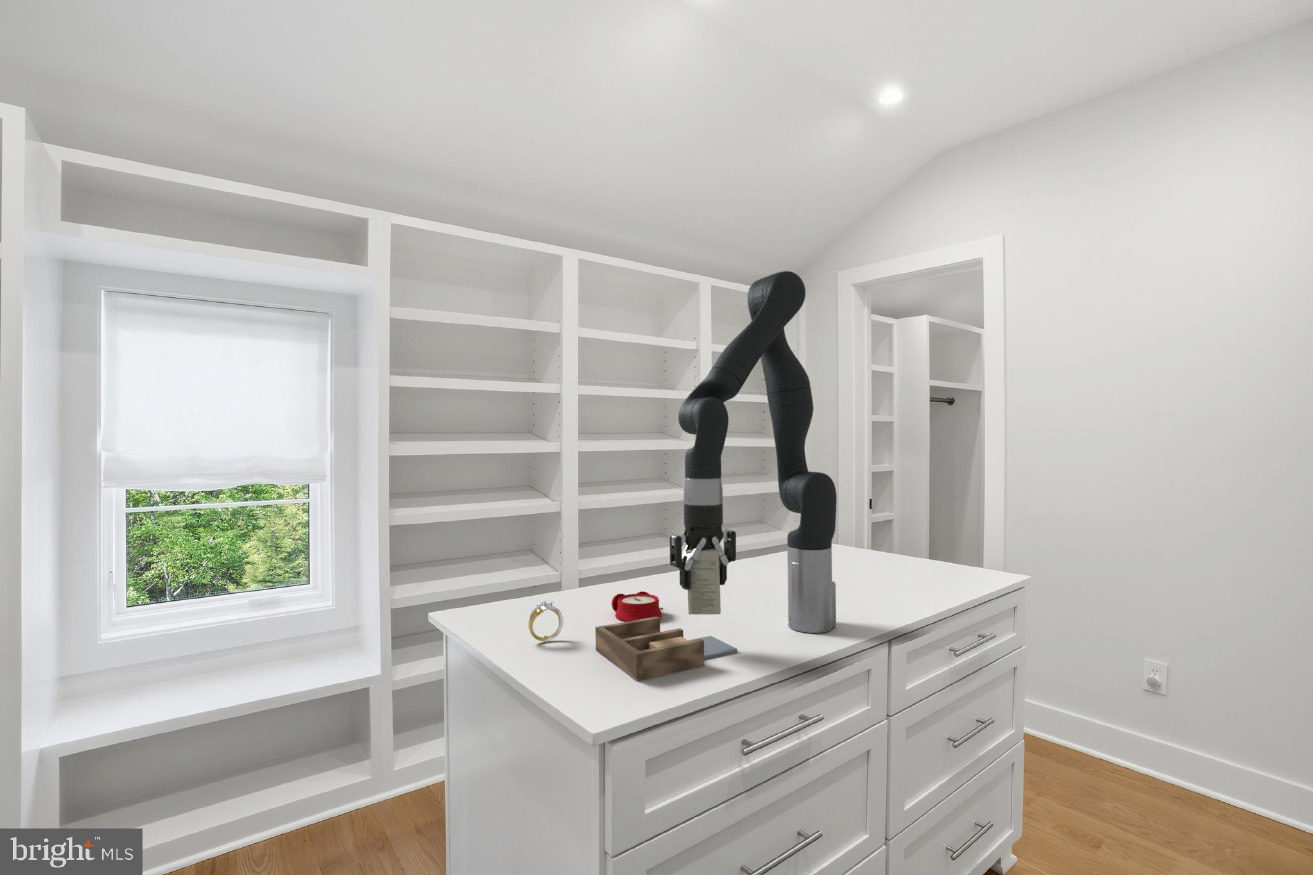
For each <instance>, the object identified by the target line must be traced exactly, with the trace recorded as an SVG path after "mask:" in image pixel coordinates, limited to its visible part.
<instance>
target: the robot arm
mask: <svg viewBox="0 0 1313 875" xmlns="http://www.w3.org/2000/svg"><path fill="white" fill-rule="evenodd" d="M805 301H806V287H805V283H804V282H803V279H802V278H801V277H800V275H798V274H797V273H796V272H794V271H791V270H790V271H789V270H785V271H784V270H783V271H779V272H775V273H773V274H770V275H767V276H764V277H761V278H760V279H757V280H756V281H754V282H753V283H752V284H750V286H749V289H748V292H747V308H748V312H749V316H750V320H751V321H750V322H749V324H747V326H746V327H744V329H742V331H741V332H740V333H739V334H738V335H737V336H735V337H734V338H733V340H731V342H729V344H728V345H727V346H726V347H725V348H724V349H723V351H722V352H721V353H720V354H719V356H718V357H717V360H716V361H715V363H714V364H713V365H712V367H711V369H710V371H709V372H708V374H707V376H705V378H704V379H703V380H702V381H701V382H700V383H699V384H698V385H696V387H695V388H694V389H693V390H691V392H690V393H689V394H688V396H687V397H686V398H685V399H684V401H683V402H682V404H681V406H680V408H679V410H678V415H677V416H678V419H677V420H678V424H679V426H680V428H681V429H682V431H684V432H685V433H687V434H690V435H695V439H694V445H693V446H692V447H691V448H690V447H689V449H687V450H686V452H685V455H684V483H683V484H684V485H683V524H684V525H683V526H684V532H683V534H673V533H672V534H670V535H669V564H670V566H672V567H675V568H678V570H679V585H680V587H681V588H682V589H683V590H686V591H688V590H690V589H691V570H689V569H690V567H691V565H692V563H693V561H695V560H696V559H697V557H698V555H699V553H700V551H701V550H708V549H719V571H720V586H724V585H725V584H726V582H727V579H728V576H727V575H728V565H729V564H730V563H731V562H735V561H736V559H737V532H736V531H735V530H731V529H724V530H723V529H722V526H723V524H724V504H723V503H724V498H723V497H724V491H723V489H724V488H723V484H722V483H723V482H722V481H723V480H722V455H723V451H724V446H725V442H726V437H727V434H728V429H729V420H730V419H729V413H728V410H727V409H728V408H727V407H726V404H724V403H726V402H727V401H730V400H732V399H733V398H735V397H737V395H738V394H739V392H740V391H741V389H742V388H743V386H744V384H745V383H746V381H747V380H748V378H749V376H750V374H751V373H752V371H753V369H754V368H755V367H756V364H757V363H758V361H759V360H760V362H761V365H762V372H763V375H764V382H765V391H766V397H767V402H768V403H767V404H768V408H769V414H770V419H771V424H772V431H773V438H774V439H773V440H774V446H775V451H776V452H775V453H776V466H777V468H776V469H777V482H778V492H779V498H780V501H781V503H782V505H783V506H784V507H785V509H786V510H788V511H789V512H792V513H796V514H800V520H799V525H798V527H797V528H796V529H794V530H791V531H789V532H788V533H787V545H786V546H787V552H786V553H787V615H788V616H787V618H788V622H787V623H788V624H787V626H788V627H789V628H790V629H792V630H795V631H797V632H802V633H810V634H821V633H826V632H830V631H832V630H833V628H836V627H837V596H836V595H837V594H836V593H837V592H836V591H837V590H836V588H837V587H836V585H837V584H836V582H835V581H833V546H832V544H833V542H832V541H833V538H834V536H835V532H836V525H837V524H836V522H837V521H836V520H837V503H838V502H837V501H838V500H837V490H836V489H837V488H836V486H835V485H836V484H835V482H834V480H833V479H832V477H830V476H829V475H828V474H826V473H824V472H818V471H809V469H808V464H807V458H806V448H805V447H806V439H807V435H808V433H809V430H810V427H811V423H812V419H813V414H814V401H813V393H812V388H811V382H810V379H809V378H810V377H809V375H808V373H807V371H806V370H805V368H804V366H803V365H802V363H801V362H800V361H799V359H798V357H797V356H796V355H795V353H794V351H792V348H791V347H790V345H789V343H788V340H787V337H786V333H785V331H786V330H785V326H787V324H788V323H789V322H790V321H791V320H792V319H793V318H794V317H795V316H796V315H797V313H798V312H799V311H801V308H802V307H803V305H804V302H805ZM722 541H723V547H722V546H721V542H722ZM684 543H685V544H686V545H685V548H684V550H683V546H684ZM689 549H690V550H692V551H693V552H692V553H688V554H686V551H688V550H689ZM682 551H683V552H682ZM687 557H688V558H687Z"/></svg>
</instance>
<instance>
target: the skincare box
mask: <svg viewBox="0 0 1313 875" xmlns="http://www.w3.org/2000/svg"><path fill="white" fill-rule="evenodd" d="M692 552H693V551H692V550H690V549H689V550H688V551H686V554H688V553H692ZM687 558H688V557H687ZM689 570H691V589H690V590H687V605H688V607H687V608H688V609H687V610H688V611H687V612H688V615H721V612H722V610H721V608H722V607H721V585H720V571H719V549H708V550H701V551H700V553H699V555H698V557H697V559H696V560H695V561H693V563H692V565H691V567H690V569H689Z"/></svg>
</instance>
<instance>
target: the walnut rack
mask: <svg viewBox="0 0 1313 875" xmlns="http://www.w3.org/2000/svg"><path fill="white" fill-rule="evenodd" d="M676 637H683V638H684V629H682V628H675V629H670V630H663V631H661V617H660V618H659V617H652V618H646V619H640V620H634V621H628V622H627V621H622V622H618V623H617V622H616V623H612V624H611V623H610V624H607V625H599V626H595V651H596V652H597V653H599V654H600V655H601V656H603V657H604V658H605V659H607V660H608V661H609V662H610V663H612V664H613V665H615V667H617V668H618V669H620V670H621V671H622V672H623V673H625V674H626V675H628V676H629V677H630V678H631V679H633V680H635V681H636V682H641V681H643V680H648V679H652V678H656V677H661V676H664V675H669V674H674V673H679V672H683V671H688V670H691V669H695V668H701V667H705V659H704V640H702V639H697V638H696V639H697V640H692V639H691V640H692V641H687V642H682V643H677V644H672V645H667V646H662V647H657V648H652V649H649V642H654V641H660V640H665V639H671V638H676Z"/></svg>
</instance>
